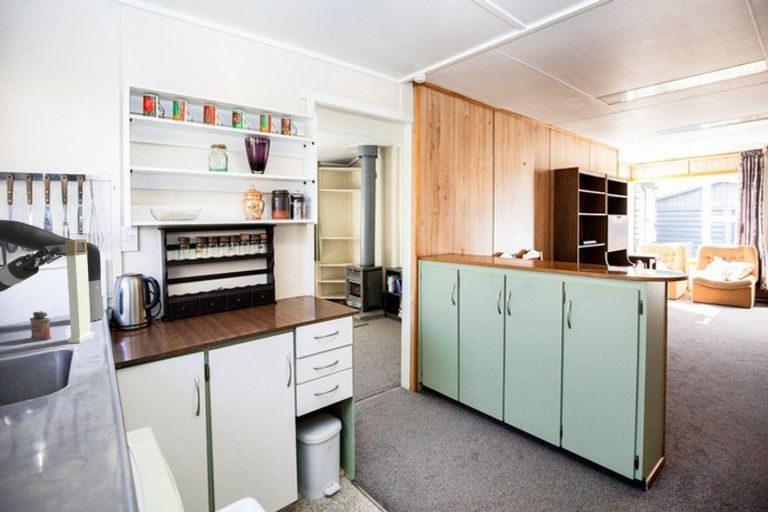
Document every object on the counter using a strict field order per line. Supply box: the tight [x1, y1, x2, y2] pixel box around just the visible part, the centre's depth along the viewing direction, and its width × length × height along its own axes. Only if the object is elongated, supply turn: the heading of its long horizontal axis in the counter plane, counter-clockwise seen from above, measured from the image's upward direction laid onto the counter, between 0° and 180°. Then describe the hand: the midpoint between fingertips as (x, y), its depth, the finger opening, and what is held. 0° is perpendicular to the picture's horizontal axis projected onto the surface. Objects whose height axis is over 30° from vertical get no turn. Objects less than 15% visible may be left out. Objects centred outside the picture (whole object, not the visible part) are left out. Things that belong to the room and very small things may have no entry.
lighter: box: [29, 310, 52, 342], centre depth 147 cm, size 8×3×10 cm, turn 71°
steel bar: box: [44, 243, 84, 256], centre depth 144 cm, size 3×11×3 cm, turn 93°
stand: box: [64, 238, 95, 344], centre depth 146 cm, size 8×4×36 cm, turn 3°
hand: (57, 248), depth 144 cm, fingers open, 8 cm apart
